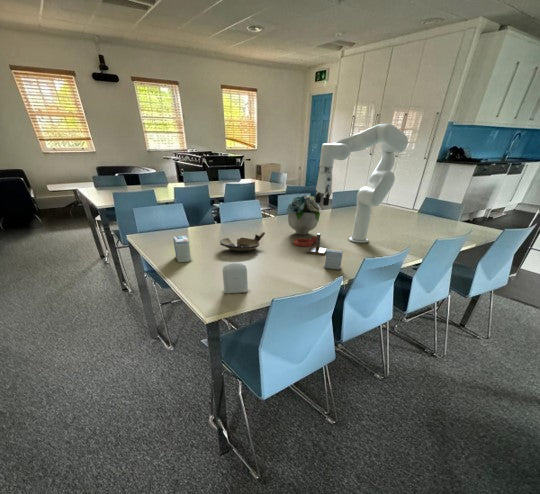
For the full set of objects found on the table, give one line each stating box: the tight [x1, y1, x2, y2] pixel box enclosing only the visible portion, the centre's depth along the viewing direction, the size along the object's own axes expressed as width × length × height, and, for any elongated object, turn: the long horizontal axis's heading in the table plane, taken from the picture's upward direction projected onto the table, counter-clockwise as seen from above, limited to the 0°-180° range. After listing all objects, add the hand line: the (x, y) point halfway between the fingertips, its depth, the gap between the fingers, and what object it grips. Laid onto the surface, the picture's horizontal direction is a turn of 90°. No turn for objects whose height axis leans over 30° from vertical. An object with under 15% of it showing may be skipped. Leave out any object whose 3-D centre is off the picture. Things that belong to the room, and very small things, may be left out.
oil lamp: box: [219, 231, 266, 252], centre depth 183 cm, size 22×30×8 cm
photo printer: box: [222, 262, 249, 294], centre depth 130 cm, size 10×4×12 cm, turn 100°
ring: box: [293, 235, 317, 248], centre depth 197 cm, size 16×12×4 cm
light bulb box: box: [172, 235, 192, 263], centre depth 165 cm, size 11×7×11 cm, turn 23°
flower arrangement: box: [285, 194, 323, 235], centre depth 214 cm, size 25×25×24 cm
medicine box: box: [323, 248, 344, 271], centre depth 159 cm, size 8×4×9 cm, turn 71°
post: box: [306, 232, 328, 256], centre depth 182 cm, size 10×10×10 cm
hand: (321, 204), depth 183 cm, fingers open, 9 cm apart
